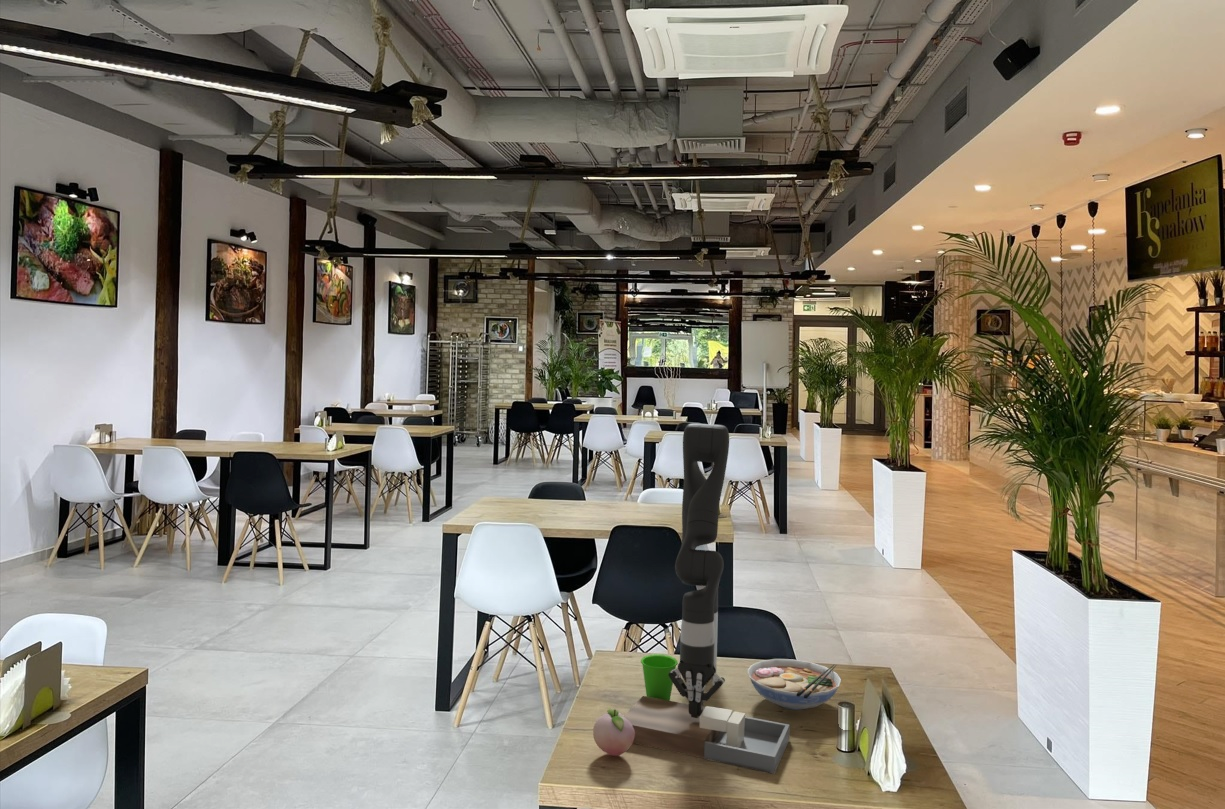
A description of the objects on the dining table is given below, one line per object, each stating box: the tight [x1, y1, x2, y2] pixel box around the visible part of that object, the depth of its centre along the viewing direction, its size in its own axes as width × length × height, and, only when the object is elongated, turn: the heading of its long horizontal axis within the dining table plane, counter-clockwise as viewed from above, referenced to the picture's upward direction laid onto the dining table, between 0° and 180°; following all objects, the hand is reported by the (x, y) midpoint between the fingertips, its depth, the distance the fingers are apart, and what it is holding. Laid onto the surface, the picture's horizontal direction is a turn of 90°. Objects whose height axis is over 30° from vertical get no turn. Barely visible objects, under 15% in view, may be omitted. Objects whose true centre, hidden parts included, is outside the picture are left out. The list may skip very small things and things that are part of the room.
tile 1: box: [700, 705, 734, 732], centre depth 176 cm, size 6×6×2 cm
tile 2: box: [726, 711, 746, 748], centre depth 174 cm, size 6×6×2 cm
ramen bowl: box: [746, 658, 842, 711], centre depth 198 cm, size 25×23×8 cm
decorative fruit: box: [592, 708, 635, 757], centre depth 169 cm, size 9×8×10 cm
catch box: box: [703, 715, 791, 775], centre depth 173 cm, size 17×15×4 cm
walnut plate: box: [623, 695, 721, 759], centre depth 180 cm, size 16×20×4 cm
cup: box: [640, 654, 679, 701], centre depth 195 cm, size 9×9×11 cm
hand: (695, 716), depth 178 cm, fingers closed
